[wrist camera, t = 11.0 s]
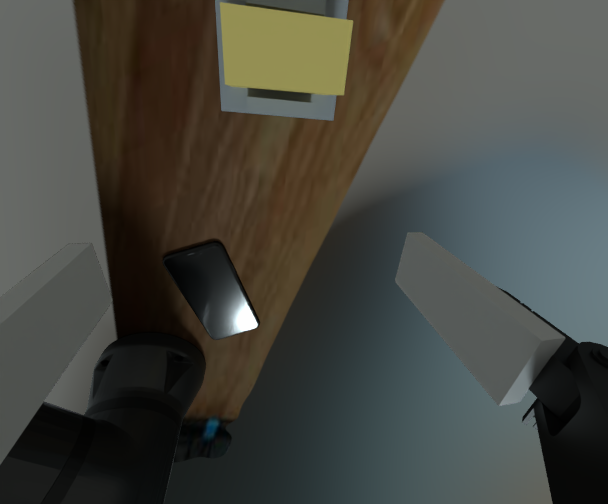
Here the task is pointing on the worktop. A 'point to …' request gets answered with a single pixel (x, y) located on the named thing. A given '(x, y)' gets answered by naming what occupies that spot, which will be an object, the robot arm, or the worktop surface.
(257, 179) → the worktop surface
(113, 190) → the worktop surface
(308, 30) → the butter stick brick
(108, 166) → the worktop surface
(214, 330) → the smartphone
